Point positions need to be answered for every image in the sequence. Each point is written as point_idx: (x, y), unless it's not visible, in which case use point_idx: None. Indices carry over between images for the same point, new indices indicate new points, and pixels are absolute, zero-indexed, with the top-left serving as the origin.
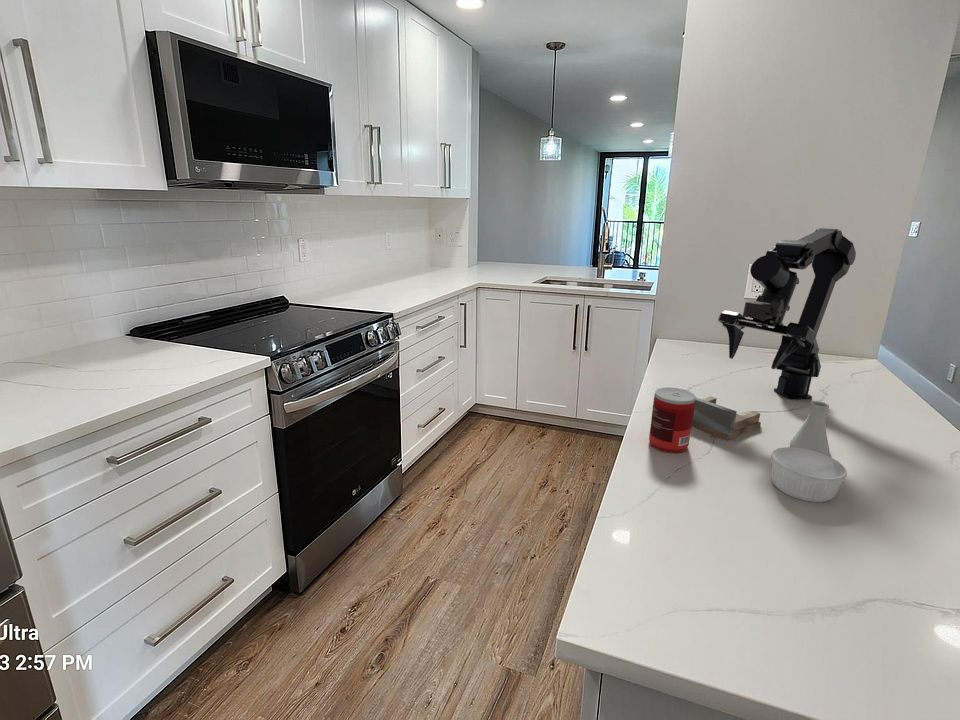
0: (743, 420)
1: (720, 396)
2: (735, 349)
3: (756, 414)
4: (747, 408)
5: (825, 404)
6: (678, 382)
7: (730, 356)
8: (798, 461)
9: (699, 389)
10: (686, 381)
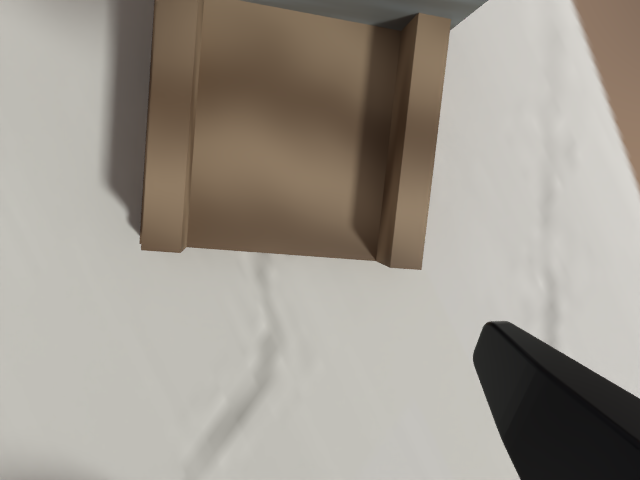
0: (152, 79)
1: (431, 439)
2: (546, 464)
3: (145, 214)
4: (288, 407)
5: None
6: None
7: (502, 323)
8: None
9: None
10: None
